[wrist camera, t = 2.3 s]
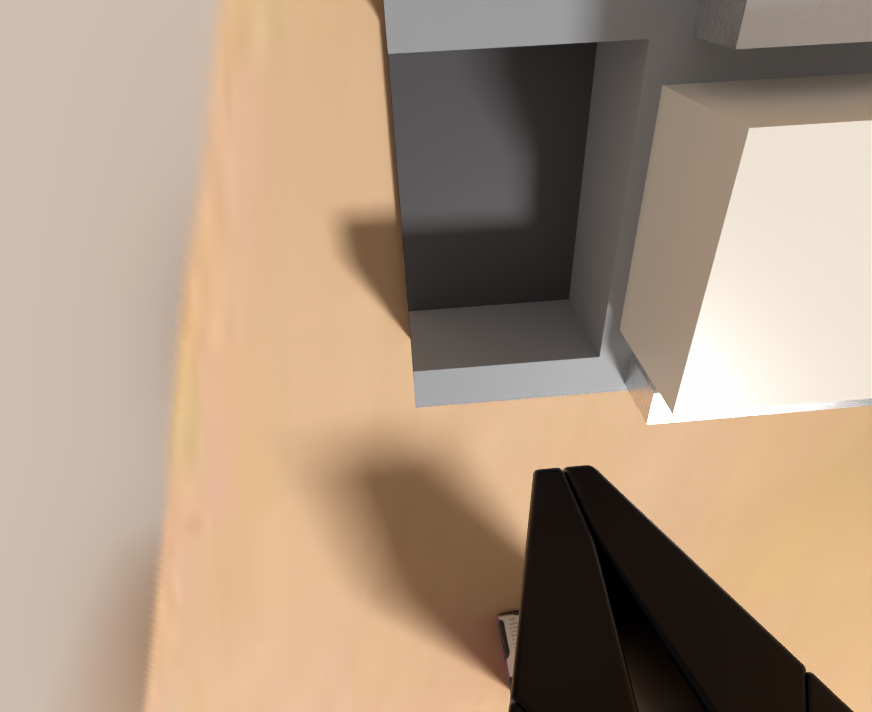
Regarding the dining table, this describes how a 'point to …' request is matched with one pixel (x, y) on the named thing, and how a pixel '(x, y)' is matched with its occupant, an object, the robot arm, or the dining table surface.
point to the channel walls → (742, 29)
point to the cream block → (756, 245)
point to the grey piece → (539, 177)
